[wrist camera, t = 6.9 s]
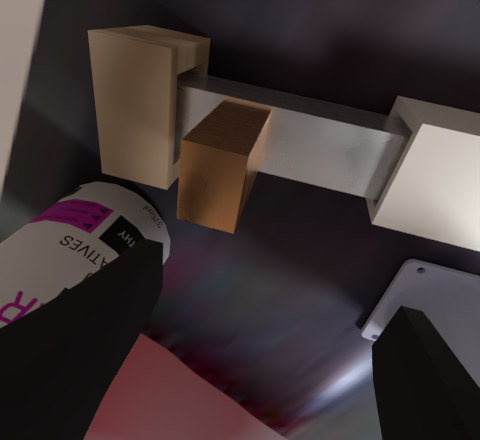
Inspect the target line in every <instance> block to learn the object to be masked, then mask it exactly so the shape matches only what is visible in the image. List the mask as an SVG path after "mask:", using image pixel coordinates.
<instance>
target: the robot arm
mask: <svg viewBox="0 0 480 440" xmlns="http://www.w3.org/2000/svg"><path fill="white" fill-rule="evenodd" d="M418 268H423V269H421V270H417V269H418ZM162 281H163V243H161V242H157V241H153V240H150V239H146V238H144V239H142V240H140V241H139V242H138V243H136V244H135V245H133V246H132V247H131V248H129V249H128V250H126V251H125V252H124V253H122V254H121V255H119V256H118V257H117V258H115V259H114V260H112V261H111V262H109V263H108V264H107V265H105V266H104V267H102V268H101V269H99V270H98V271H96V272H95V273H93V274H92V275H90V276H89V277H87V278H86V279H84V280H83V281H81V282H80V283H78V284H77V285H75V286H73V287H72V288H70V289H68V290H67V291H65V292H64V293H62V294H60V295H59V296H57V297H55V298H54V299H52V300H50V301H49V302H47V303H45V304H44V305H42V306H40V307H38V308H37V309H35V310H33V311H31V312H29V313H28V314H26V315H24V316H22V317H20V318H18V319H16V320H15V321H13V322H11V323H9V324H7V325H5V326H3V327H1V328H0V440H83V439H84V436H85V434H86V432H87V430H88V428H89V426H90V424H91V422H92V420H93V418H94V415H95V413H96V411H97V409H98V407H99V405H100V403H101V401H102V399H103V397H104V395H105V393H106V392H107V390H108V388H109V386H110V384H111V382H112V381H113V379H114V377H115V375H116V374H117V372H118V371H119V369H120V367H121V366H122V364H123V362H124V360H125V359H126V357H127V355H128V354H129V352H130V350H131V348H132V347H133V345H134V343H135V342H136V340H137V338H138V336H139V335H140V333H141V331H142V330H143V328H144V326H145V325H146V323H147V321H148V319H149V318H150V315H151V313H152V311H153V309H154V307H155V304H156V302H157V300H158V297H159V295H160V293H161V290H162ZM361 335H362V336H363V337H364V338H366V339H370V340H373V341H375V342H374V344H373V345H372V366H373V383H374V389H375V396H376V402H377V409H378V415H379V421H380V427H381V433H382V439H383V440H480V276H478V275H474V274H470V273H467V272H463V271H459V270H455V269H451V268H447V267H443V266H440V265H436V264H432V263H428V262H424V261H420V260H416V259H409V260H407V261H405V262H404V263H403V265H402V266H401V268H400V270H399V271H398V273H397V274H396V276H395V277H394V279H393V281H392V282H391V284H390V285H389V287H388V288H387V290H386V292H385V293H384V295H383V296H382V298H381V299H380V301H379V303H378V304H377V306H376V307H375V309H374V310H373V312H372V313H371V315H370V317H369V318H368V320H367V321H366V323H365V324H364V326H363V328H362V329H361Z"/></svg>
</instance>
